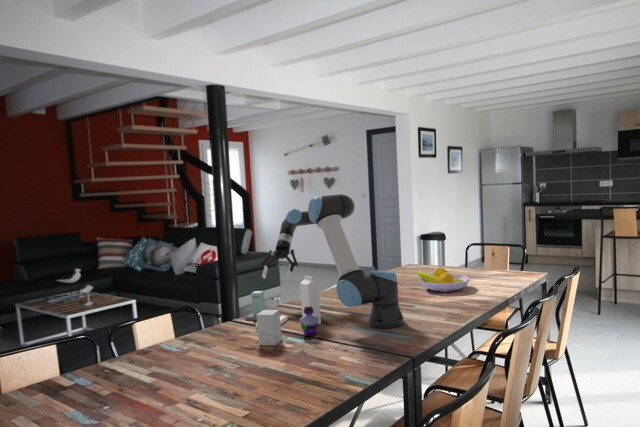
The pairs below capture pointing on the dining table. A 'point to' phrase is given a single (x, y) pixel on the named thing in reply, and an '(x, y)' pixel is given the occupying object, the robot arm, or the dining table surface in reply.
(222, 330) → the dining table surface
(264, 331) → the supplement box
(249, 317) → the coaster
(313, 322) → the potion bottle
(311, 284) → the milk
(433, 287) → the fruit bowl
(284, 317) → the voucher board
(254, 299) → the light blue tall block
